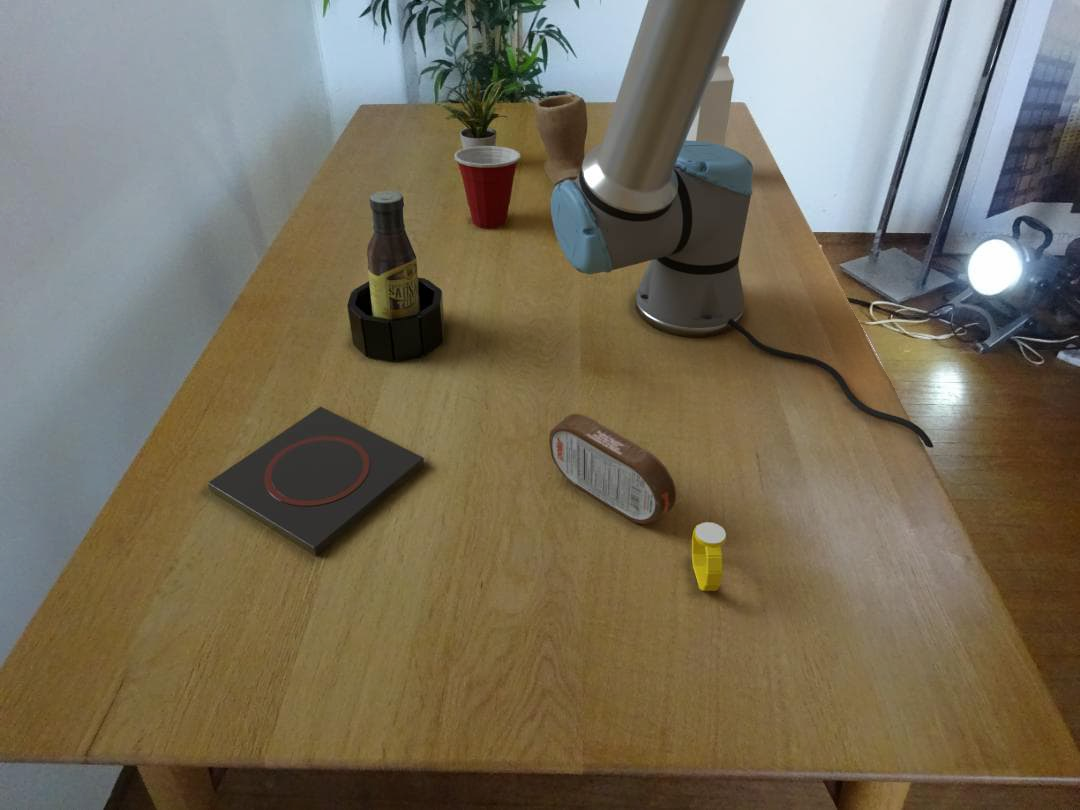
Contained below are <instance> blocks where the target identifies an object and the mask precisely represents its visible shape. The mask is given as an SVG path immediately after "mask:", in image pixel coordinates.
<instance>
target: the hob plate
mask: <svg viewBox="0 0 1080 810" xmlns="http://www.w3.org/2000/svg"><path fill="white" fill-rule="evenodd" d="M424 467H425V458H424V457H423V456H421V455H419V454H417V453H415V452H413V451H411V450H409V449H407V448H405V447H403V446H401V445H399V444H397V443H396V442H393V441H391V440H389V439H387V438H385V437H383V436H381V435H379V434H377V433H375V432H373V431H372V430H369V429H366V428H365V427H363V426H361V425H359V424H357V423H355V422H353V421H351V420H348V419H347V418H344V417H343V416H341V415H338V414H336V413H335V412H333V411H331V410H328V409H326V408H324V407H322V406H318V407H317V408H316V409H315V410H313V411H311V412H310V413H309V414H308V415H306V416H304V417H303V418H301V419H300V420H298V421H296V423H294V424H292V425H290V426H289V427H288V428H286V429H285V430H283V431H282V432H280V433H279V434H278V435H276V436H274V437H273V438H272V439H269V441H268V442H265V443H264V444H263V445H262V446H260V447H258V448H257V449H255V450H254V451H253V452H251V453H249V454H248V455H246V456H245V457H244V458H242V459H241V460H239V461H237V462H236V463H235V464H233V465H231V466H230V467H228V468H227V469H225V471H223V472H221V473H220V474H218V475H217V476H215V477H214V478H212V479H211V480H210V481H208V482H207V486H208V488H209V491H210V492H211V493H213V494H214V495H216V496H217V497H219V498H221V499H222V500H224V501H226V502H227V503H229V504H231V505H232V506H234V507H236V508H237V509H239V510H240V511H242V512H244V513H245V514H247V515H249V516H250V517H252V518H253V519H255V520H257V521H258V522H259V523H261V524H264V526H266V527H268V528H270V529H271V530H273V531H275V532H276V533H278V534H280V535H281V536H282V537H284V538H286V539H288V540H289V541H291V542H293V543H294V544H296V545H297V546H298V547H301V548H302V549H303V550H305V551H307V552H308V553H310V554H312V555H313V556H315V557H317V556H318V555H319V554H321V553H322V552H323V551H324V550H325V549H327V548H328V547H329V546H330V545H332V544H333V543H334V542H335V541H336V540H337V539H339V538H340V537H341V536H342V535H344V533H346V532H347V531H348V530H350V529H351V528H352V527H353V526H354V525H355V524H357V523H358V522H359V521H360V520H361V519H362V518H364V517H365V516H366V515H368V514H369V513H370V512H371V511H372V510H373V509H375V508H376V507H377V506H378V505H379V504H380V503H382V502H383V501H385V499H387V497H389V496H390V495H391V494H393V492H395V491H396V490H397V489H398V488H399V487H401V486H402V485H403V484H405V483H406V482H407V481H408V480H409V479H410V478H411V477H412V476H414V475H415V474H416V473H418V472H419V471H420V470H421V469H422V468H424Z"/></svg>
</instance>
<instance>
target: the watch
mask: <svg viewBox="0 0 1080 810" xmlns="http://www.w3.org/2000/svg"><path fill="white" fill-rule="evenodd" d="M726 540H727V532H726V530H725V529H724V528H723V527H722V526H721V525H719V524H717V523H715V522H711V521H710V522H709V521H705V522H701V523H699V524H697V525H695V527H694V528H693V532H692V536H691V560H692V568H693V572H694V575H695V578H696V581H697V585H698V589H699V590H700V591H703V592H711V591H714V592H715V591H718V590H719V588H720V586H721V585H722V584H721V583H722V578H723V552H722V547H723V545H724V544H726V543H725V542H726Z"/></svg>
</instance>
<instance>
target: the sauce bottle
mask: <svg viewBox="0 0 1080 810" xmlns="http://www.w3.org/2000/svg"><path fill="white" fill-rule="evenodd" d="M369 207H370V209H371V212H372V220H373V227H372V228H373V234H372V235H371V238H370V240H369V241H368V244H367V247H366V256H367V257H366V258H367V273H368V281H369V284H370V293H371V303H372V314H373V316H375V317H381V318H387V319H394V318H400V317H406V316H411V315H416V314H418V313H419V312H420V303H419V288H418V277H419V276H418V275H419V274H418V261H417V260H418V259H417V256H416V253H415V251H414V248H413V246H412V243H411V241H410V239H409V236H408V234H407V232H406V229H405V228H406V225H405V222H404V207H405V202H404V196H403V194H402V193H401V192H400V191H395V190H379V191H375V192H373V193H372V194H370V196H369Z"/></svg>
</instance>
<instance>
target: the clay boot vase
mask: <svg viewBox="0 0 1080 810" xmlns="http://www.w3.org/2000/svg"><path fill="white" fill-rule="evenodd" d="M586 104H587V103H586V102H585V99H584V98H583V97H580V96H578V95H577V94H573V93H572V94H571V93H570V94H567V93H566V94H559V95H555V96H554V95H553V96H548V97H545V98H542V99H540V100H538V101H537V102H536V103H535V105H534V116H535V124H536V128H537V131H538V133H539V136H540V138H541V141H542V143H543V146H544V149H545V152H546V155H547V159H545V161H544V162H543V163H544V164H543V166H544V167H543V168H544V171H545V174H546V175H547V176H548V178H549V179H550V181H551V183H552V184H553V185H554V187H556V186H557V185H558V184H559V183H562V182H564V181H565V180H568V179H569V180H575V179H577V178H578V176H579V173H580V170H581V166H582V163H583V160H584V158H585V145H586V138H587V133H588V127H589V126H588V125H589V124H588V112H587V105H586Z"/></svg>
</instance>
